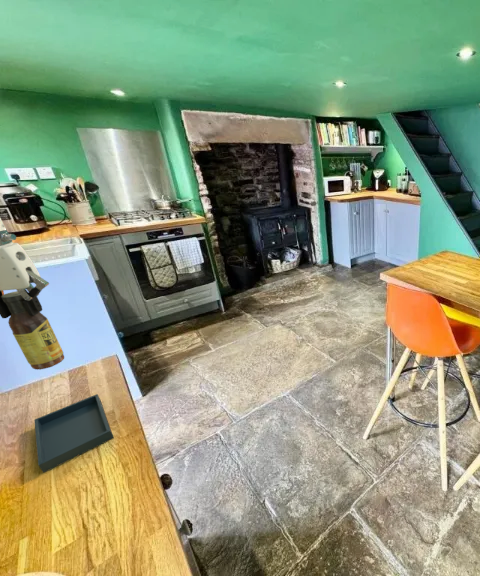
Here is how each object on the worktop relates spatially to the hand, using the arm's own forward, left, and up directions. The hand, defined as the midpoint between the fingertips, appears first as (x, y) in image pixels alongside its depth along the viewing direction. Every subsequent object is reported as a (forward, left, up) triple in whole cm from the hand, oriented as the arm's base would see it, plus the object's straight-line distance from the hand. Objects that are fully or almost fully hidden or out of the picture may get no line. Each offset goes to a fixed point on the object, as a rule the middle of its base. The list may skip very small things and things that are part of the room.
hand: (22, 313), depth 72 cm
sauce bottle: (0, 0, -15) cm, 15 cm away
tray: (+7, -11, -29) cm, 32 cm away
